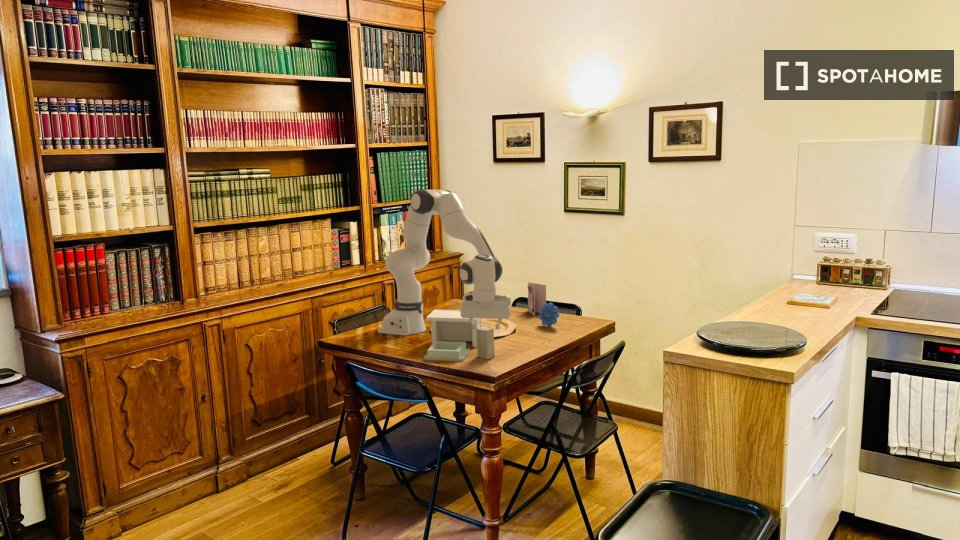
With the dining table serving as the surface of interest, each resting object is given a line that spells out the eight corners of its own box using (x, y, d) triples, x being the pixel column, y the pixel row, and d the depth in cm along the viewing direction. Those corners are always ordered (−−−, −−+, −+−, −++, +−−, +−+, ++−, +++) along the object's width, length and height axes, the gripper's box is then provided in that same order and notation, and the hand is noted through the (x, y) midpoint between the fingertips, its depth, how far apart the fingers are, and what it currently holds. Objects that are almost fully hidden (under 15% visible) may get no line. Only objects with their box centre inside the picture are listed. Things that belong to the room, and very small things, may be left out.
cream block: (427, 347, 294) (426, 317, 292) (435, 338, 308) (434, 309, 305) (477, 349, 290) (477, 318, 288) (483, 340, 304) (483, 310, 301)
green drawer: (424, 359, 278) (423, 350, 278) (432, 349, 292) (432, 340, 291) (462, 361, 275) (462, 351, 275) (469, 350, 289) (469, 341, 288)
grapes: (564, 327, 323) (564, 302, 321) (555, 330, 318) (555, 304, 316) (544, 322, 331) (544, 298, 329) (535, 325, 326) (536, 301, 324)
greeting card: (526, 310, 355) (526, 282, 352) (540, 309, 357) (540, 281, 354) (533, 316, 344) (533, 286, 341) (547, 315, 346) (547, 286, 343)
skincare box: (494, 357, 280) (494, 328, 278) (487, 359, 277) (487, 330, 275) (483, 354, 284) (482, 325, 282) (476, 356, 281) (475, 328, 279)
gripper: (511, 293, 277) (512, 327, 279) (462, 293, 281) (463, 326, 283) (509, 297, 271) (510, 331, 273) (458, 296, 275) (460, 330, 277)
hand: (486, 328), depth 278 cm, fingers open, 8 cm apart
